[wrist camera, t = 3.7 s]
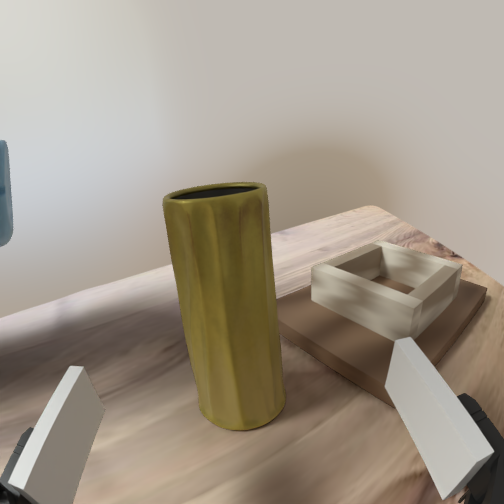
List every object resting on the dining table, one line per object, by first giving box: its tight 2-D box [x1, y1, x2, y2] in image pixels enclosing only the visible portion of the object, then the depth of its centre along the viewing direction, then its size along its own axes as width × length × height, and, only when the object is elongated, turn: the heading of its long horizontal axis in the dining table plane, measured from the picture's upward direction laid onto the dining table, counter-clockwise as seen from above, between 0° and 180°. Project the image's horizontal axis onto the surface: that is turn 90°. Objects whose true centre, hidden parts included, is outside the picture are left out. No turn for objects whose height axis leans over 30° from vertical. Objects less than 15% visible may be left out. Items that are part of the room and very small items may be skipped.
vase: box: [163, 182, 286, 430], centre depth 17 cm, size 6×6×14 cm
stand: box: [276, 240, 487, 408], centre depth 27 cm, size 16×20×5 cm
